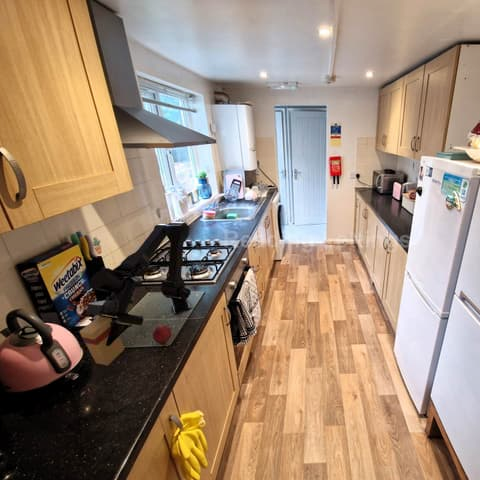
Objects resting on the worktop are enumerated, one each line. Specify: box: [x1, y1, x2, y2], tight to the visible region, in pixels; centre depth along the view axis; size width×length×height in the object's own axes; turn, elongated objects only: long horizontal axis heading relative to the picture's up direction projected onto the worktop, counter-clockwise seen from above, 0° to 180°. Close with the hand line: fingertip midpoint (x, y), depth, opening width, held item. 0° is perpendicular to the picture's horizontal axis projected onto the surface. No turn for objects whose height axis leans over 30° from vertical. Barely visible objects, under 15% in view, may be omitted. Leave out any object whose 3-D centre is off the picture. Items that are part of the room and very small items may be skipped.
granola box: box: [78, 316, 125, 367], centre depth 84 cm, size 4×7×14 cm
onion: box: [152, 323, 172, 344], centre depth 97 cm, size 6×6×8 cm
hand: (101, 344), depth 83 cm, fingers closed on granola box, 4 cm apart
